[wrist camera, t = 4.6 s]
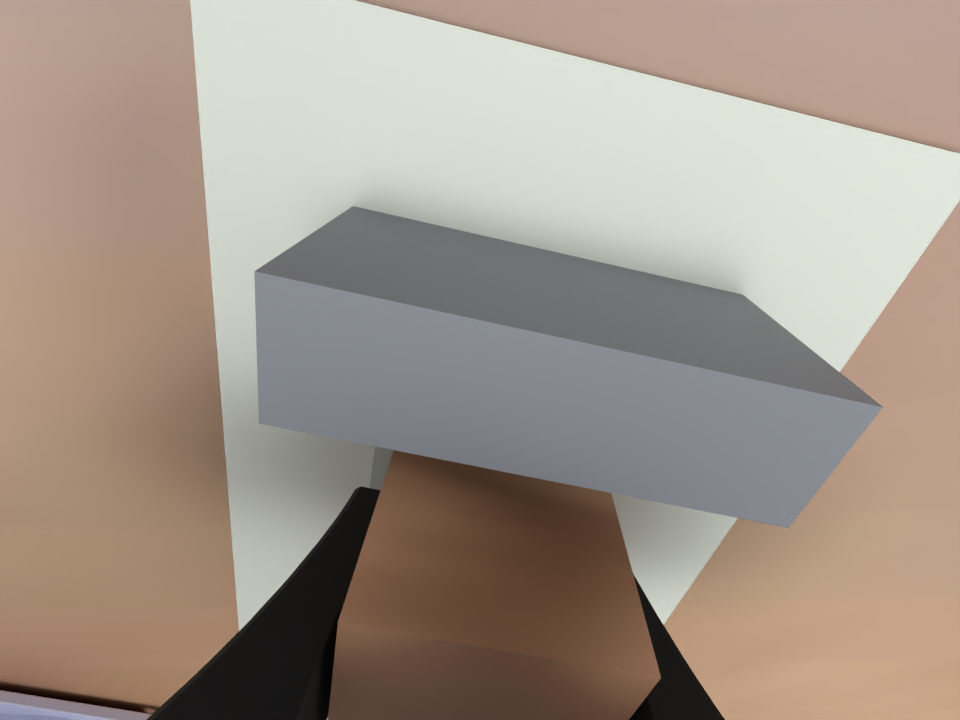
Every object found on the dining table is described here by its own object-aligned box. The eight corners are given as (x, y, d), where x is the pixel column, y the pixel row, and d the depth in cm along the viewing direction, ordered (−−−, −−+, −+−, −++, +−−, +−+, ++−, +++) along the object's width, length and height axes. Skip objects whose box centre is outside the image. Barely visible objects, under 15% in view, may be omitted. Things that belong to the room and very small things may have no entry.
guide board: (251, 690, 17) (185, 843, 13) (207, -33, 7) (-111, -179, 3) (568, 742, 18) (583, 901, 14) (959, 157, 7) (1355, 205, 4)
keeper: (382, 561, 12) (320, 790, 8) (408, 404, 9) (337, 621, 5) (534, 589, 12) (547, 825, 8) (597, 443, 10) (661, 677, 6)
